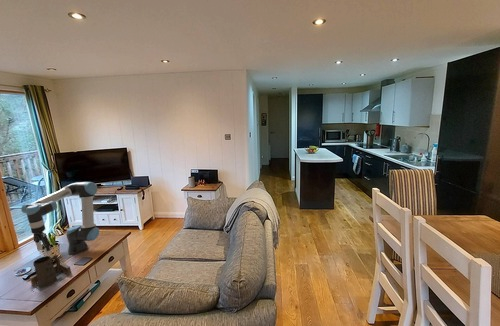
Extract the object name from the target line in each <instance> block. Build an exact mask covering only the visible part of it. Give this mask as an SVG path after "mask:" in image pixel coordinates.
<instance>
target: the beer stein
mask: <svg viewBox="0 0 500 326" xmlns="http://www.w3.org/2000/svg"><path fill="white" fill-rule="evenodd" d="M53 261H55V263H56V264H55V265H56V271H55V270H54V263H53ZM60 263H61V261H60V258H58V256H57V254H55V255H52V257H51V256H49V255H46V256H42V257H39V258H37V259H35V260H34V261H33V263H32V264H33V265H32V266H33V267H34V270H35V275H36V276H37V280H38V283H37V284H38V286H39V287H40V288H43V287H47V286H49V287H51V286H52V285H51V284H53V283H55V282H56V280H57V278H56V274H57V273H59V272H61V271H60V270H59V265H60ZM55 284H56V283H55ZM50 285H51V286H50ZM53 285H54V284H53ZM47 288H48V287H47Z"/></svg>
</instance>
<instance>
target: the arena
mask: <svg viewBox="0 0 500 326" xmlns="http://www.w3.org/2000/svg"><path fill="white" fill-rule="evenodd" d="M53 266H54V270H55V271H56V264H55V265H54V264H53ZM59 270H60V272H62V273H63V274H65V275H67V276H69V275H71V274H72V270H71V266H69V265H67V264H65V263H64V262H62V261H60V265H59ZM29 280H30V283H31V285H32V286H34V285H36V284H38V280H37V276H36V274H34V275H31V276H30V277H29Z"/></svg>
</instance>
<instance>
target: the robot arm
mask: <svg viewBox="0 0 500 326" xmlns="http://www.w3.org/2000/svg"><path fill="white" fill-rule="evenodd" d="M97 193H98V185H97V184H96V182H92V181H76V182H72V183H70V184H67V185H65V186H63V187H62V188H61V189H60V190H58V191H55V192H53V193H51V194H48V195H45V196H44V197H41V198H40V199H38V200H35V201H33V202H27V203H24V204H23V205H22V206H21V208H20V209H21V212H22V213H24V214H26V216H27V220H28V221H27V222H28V223H29V224H28V226H29V227H30V232H31V233H32V234H33V242H35V246H36V249H37V251H38V252H39V251H40V252H41V251H42V250H43V249H44V252H45V255H46V256H49V255H51V254H52V251H51V250H52V249H51V243H50V240H49V238H48V235H47V233H46V232H44V231H45V230H46V226H45V221H44V216H45V215H47V214H50V213H51V212H53V211H55V210H57V209H58V204H57V202H59V201H60V200H62V199H63V200H64V199H65V198H69V197H71V196H76V195H77V196H78V197H79V199H81V215H82V216H81V217H82V219H81V220H82V221H81V222H82V225H81V224H80V225H79V224H78V225H74V226H71V227H69V228H68V229H66V231H65V232H66V233H65V235H66V238H67V242H68V243H67V244H68V248H67V253H68V255H70V256H72V255H77V254H81V253H82V252H85V251H87V249H89V245H88V244H87V242H91V241H95V240H96V239H97V238H98V236H99V235H100V228H99V227H97V225H96V223H95V219H94V216H95V215H94V199H93V198H94V197H95V195H96V194H97ZM42 244H43V245H42ZM43 246H44V247H43Z"/></svg>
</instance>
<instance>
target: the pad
mask: <svg viewBox="0 0 500 326" xmlns="http://www.w3.org/2000/svg"><path fill="white" fill-rule="evenodd" d="M68 276H69V275H68V274H66V273H64V272H62V271H60V272H58V273H56V278H57V280H56V282H57V283H58V281H59V282H60V281H62V280H64V279H66V278H67V277H68ZM56 282H55V283H53V284H51V285H50V286H47V287H43V288H40V287H39V286H38V283H36V284H34V285H33V287H35V288H36V289H38V291H40V292H42V291H44V290H45V289H48V288H50V287H51V286H53V285H55V284H57V283H56Z"/></svg>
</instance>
